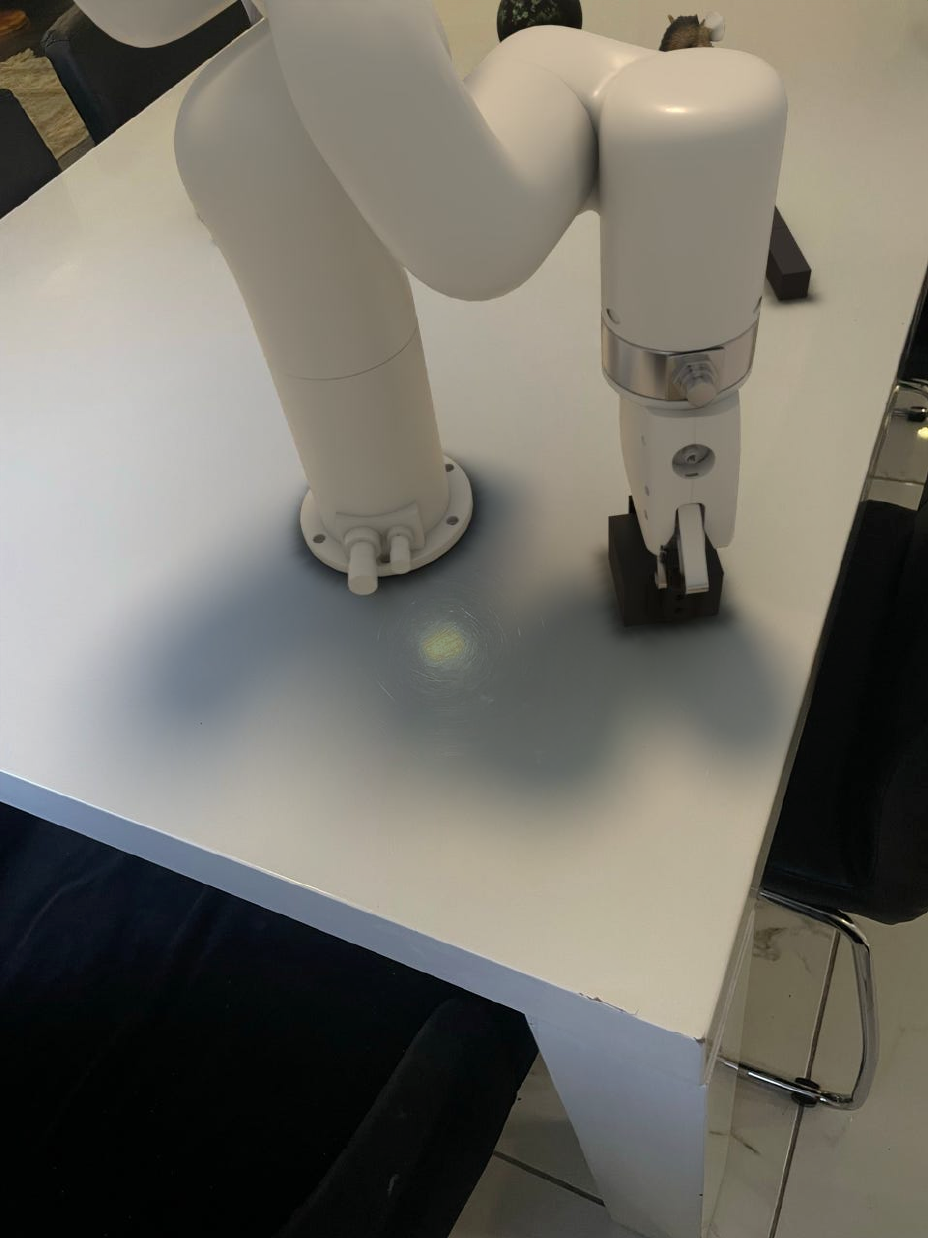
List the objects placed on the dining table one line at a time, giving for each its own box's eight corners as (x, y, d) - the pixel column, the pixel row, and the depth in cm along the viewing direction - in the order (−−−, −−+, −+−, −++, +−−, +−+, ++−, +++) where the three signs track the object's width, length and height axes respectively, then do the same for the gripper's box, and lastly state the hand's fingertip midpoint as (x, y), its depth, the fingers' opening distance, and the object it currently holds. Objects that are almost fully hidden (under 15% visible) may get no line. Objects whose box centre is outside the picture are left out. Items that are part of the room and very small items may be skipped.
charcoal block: (718, 614, 59) (724, 573, 56) (623, 626, 59) (624, 586, 56) (697, 545, 63) (701, 503, 59) (608, 557, 63) (608, 515, 60)
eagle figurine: (647, 49, 110) (642, 66, 103) (684, -14, 105) (681, 0, 98) (700, 86, 111) (698, 105, 104) (739, 26, 106) (739, 42, 100)
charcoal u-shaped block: (807, 296, 78) (812, 269, 76) (664, 317, 79) (665, 291, 77) (762, 213, 87) (766, 187, 85) (634, 232, 88) (634, 207, 86)
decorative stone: (564, 89, 108) (561, -9, 101) (487, 83, 112) (478, -12, 104) (595, 52, 114) (594, -43, 106) (520, 48, 117) (513, -45, 109)
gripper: (805, 441, 41) (756, 677, 55) (712, 236, 51) (691, 477, 65) (633, 465, 41) (628, 693, 55) (577, 257, 52) (584, 491, 66)
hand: (662, 573), depth 60 cm, fingers closed on charcoal block, 6 cm apart
